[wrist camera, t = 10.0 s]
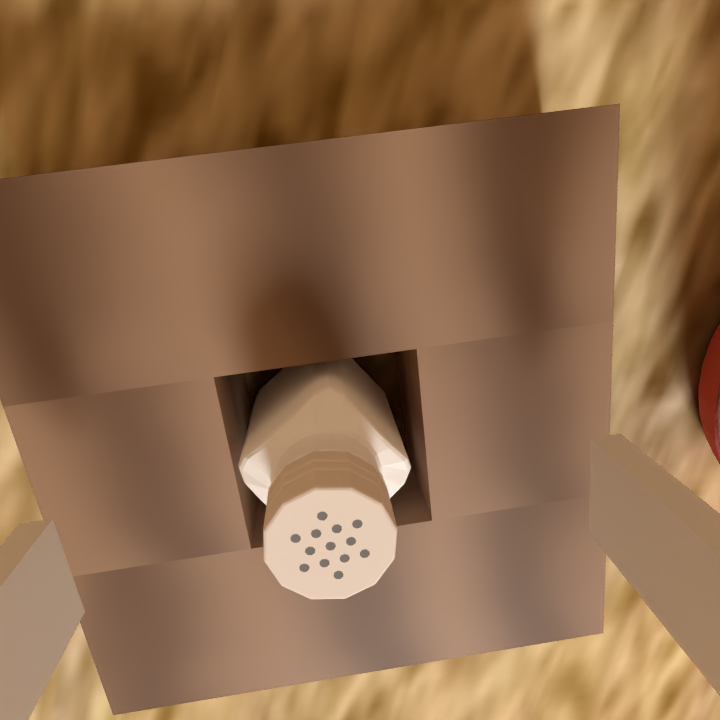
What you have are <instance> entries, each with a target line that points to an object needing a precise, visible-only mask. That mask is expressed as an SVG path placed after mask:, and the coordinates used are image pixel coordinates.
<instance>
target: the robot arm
mask: <svg viewBox="0 0 720 720" xmlns="http://www.w3.org/2000/svg"><path fill="white" fill-rule="evenodd" d="M589 533H590V534H591V535H592V537H593V538H594V539H595V540H596V542H597V543H598V544H599V545H600V547H601V548H602V549H603V550H604V552H605V553H606V554H607V555H608V557H609V558H610V559H611V560H612V562H613V563H614V564H615V565H616V567H617V568H618V569H619V570H620V572H621V573H622V574H623V575H624V577H625V578H626V579H627V580H628V582H629V583H630V584H631V585H632V587H633V588H634V589H635V590H636V592H637V593H638V594H639V595H640V597H641V598H642V599H643V600H644V602H645V603H646V604H647V605H648V607H649V608H650V609H651V610H652V612H653V613H654V614H655V615H656V617H657V618H658V619H659V620H660V622H661V623H662V624H663V625H664V627H665V628H666V629H667V630H668V632H669V633H670V634H671V635H672V637H673V638H674V639H675V640H676V642H677V643H678V644H679V645H680V647H681V648H682V649H683V650H684V652H685V653H686V654H687V655H688V657H689V658H690V659H691V660H692V662H693V663H694V664H695V665H696V667H697V668H698V669H699V670H700V672H701V673H702V674H703V675H704V677H705V678H706V679H707V680H708V682H709V683H710V684H711V685H712V687H713V688H714V689H715V690H716V691H717V693H718V694H719V695H720V514H719V513H718V512H717V511H716V510H714V509H713V508H712V507H711V506H709V505H708V504H707V503H706V502H704V501H703V500H702V499H701V498H699V497H698V496H697V495H696V494H694V493H693V492H692V491H691V490H690V489H688V488H687V487H686V486H685V485H683V484H682V483H681V482H680V481H678V480H677V479H676V478H675V477H673V476H672V475H671V474H670V473H668V472H667V471H666V470H665V469H663V468H662V467H661V466H660V465H658V464H657V463H656V462H655V461H653V460H652V459H651V458H650V457H648V456H647V455H646V454H645V453H644V452H642V451H641V450H640V449H639V448H637V447H636V446H635V445H634V444H632V443H631V442H630V441H629V440H627V439H626V438H625V437H624V436H622V435H621V434H616V435H609V436H603V437H596V438H590V487H589ZM84 613H85V610H84V607H83V604H82V602H81V599H80V596H79V593H78V590H77V587H76V584H75V582H74V579H73V576H72V573H71V570H70V567H69V565H68V562H67V559H66V556H65V553H64V550H63V547H62V545H61V542H60V539H59V536H58V533H57V530H56V527H55V525H54V522H53V519H50V520H44V521H37V522H30V523H24V524H19V525H18V527H17V528H16V529H15V530H14V531H13V532H12V534H11V535H10V536H9V537H8V538H7V539H6V541H5V542H4V543H3V544H2V545H1V546H0V720H28V719H29V717H30V715H31V713H32V711H33V709H34V708H35V706H36V704H37V702H38V700H39V698H40V696H41V694H42V692H43V690H44V689H45V687H46V685H47V683H48V681H49V679H50V677H51V675H52V673H53V672H54V670H55V668H56V666H57V664H58V662H59V660H60V658H61V656H62V654H63V653H64V651H65V649H66V647H67V645H68V643H69V641H70V639H71V637H72V635H73V634H74V632H75V630H76V628H77V626H78V624H79V622H80V620H81V618H82V617H83V615H84Z"/></svg>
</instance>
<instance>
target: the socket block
mask: <svg viewBox="0 0 720 720" xmlns="http://www.w3.org/2000/svg"><path fill="white" fill-rule="evenodd" d="M619 117H620V104H613V105H605V106H597V107H588V108H580V109H572V110H564V111H556V112H547V113H539V114H531V115H523V116H514V117H506V118H498V119H490V120H481V121H473V122H465V123H457V124H448V125H440V126H432V127H424V128H416V129H407V130H399V131H391V132H383V133H374V134H366V135H358V136H350V137H341V138H333V139H325V140H317V141H308V142H300V143H292V144H284V145H276V146H267V147H259V148H251V149H243V150H234V151H226V152H218V153H210V154H201V155H193V156H185V157H177V158H168V159H160V160H152V161H144V162H136V163H127V164H119V165H111V166H103V167H94V168H86V169H78V170H70V171H61V172H53V173H45V174H37V175H28V176H20V177H12V178H4V179H0V399H1V402H2V405H3V408H4V410H5V413H6V416H7V419H8V422H9V424H10V427H11V430H12V433H13V436H14V438H15V441H16V444H17V447H18V450H19V452H20V455H21V458H22V461H23V464H24V466H25V469H26V472H27V475H28V478H29V480H30V483H31V486H32V489H33V492H34V494H35V497H36V500H37V503H38V506H39V508H40V511H41V514H42V517H43V520H50V519H53V522H54V525H55V527H56V530H57V533H58V536H59V539H60V542H61V545H62V547H63V550H64V553H65V556H66V559H67V562H68V565H69V567H70V570H71V573H72V576H73V579H74V582H75V584H76V587H77V590H78V593H79V596H80V599H81V602H82V604H83V607H84V610H85V613H84V615H83V617H82V618H81V620H80V623H81V626H82V629H83V632H84V634H85V637H86V640H87V643H88V646H89V648H90V651H91V654H92V657H93V660H94V662H95V665H96V668H97V671H98V674H99V676H100V679H101V682H102V685H103V688H104V690H105V693H106V696H107V699H108V702H109V704H110V707H111V710H112V713H113V715H117V714H123V713H129V712H135V711H141V710H146V709H152V708H158V707H164V706H170V705H176V704H182V703H188V702H194V701H200V700H206V699H212V698H218V697H224V696H230V695H236V694H242V693H248V692H254V691H260V690H266V689H272V688H278V687H284V686H290V685H296V684H302V683H308V682H314V681H320V680H326V679H332V678H338V677H344V676H350V675H355V674H361V673H367V672H373V671H379V670H385V669H391V668H397V667H403V666H409V665H415V664H421V663H427V662H433V661H439V660H445V659H451V658H457V657H463V656H469V655H475V654H481V653H487V652H493V651H499V650H505V649H511V648H517V647H523V646H529V645H535V644H541V643H547V642H553V641H559V640H565V639H570V638H576V637H582V636H588V635H594V634H600V633H603V626H604V595H605V563H606V553H605V552H604V550H603V549H602V548H601V547H600V545H599V544H598V543H597V542H596V540H595V539H594V538H593V537H592V535H591V534H590V533H589V487H590V438H596V437H603V436H609V435H610V403H611V371H612V340H613V308H614V276H615V244H616V212H617V180H618V148H619ZM391 352H397V361H398V371H399V380H400V390H401V400H402V410H403V420H404V430H405V439H406V449H407V450H405V451H406V453H407V456H408V459H409V462H410V465H411V469H410V472H409V474H408V477H407V479H406V481H405V484H404V485H403V486H402V487H401V488H400V489H399V490H398V491H397V492H396V493H395V494H394V495H393V496H392V497H391V498H390V502H391V505H392V511H393V513H394V517H395V520H396V524H397V539H396V551H395V559H394V560H393V562H392V563H391V564H390V565H389V567H388V568H387V569H386V571H385V572H384V573H383V575H382V576H381V577H380V579H379V580H378V581H377V583H376V584H375V585H373V586H371V587H368V588H366V589H364V590H362V591H360V592H358V593H356V594H354V595H352V596H350V597H348V598H346V599H309V598H307V597H305V596H303V595H300V594H298V593H296V592H294V591H292V590H290V589H287V588H285V587H283V586H281V584H280V583H279V581H278V580H277V579H276V577H275V576H274V574H273V573H272V572H271V570H270V569H269V567H268V566H267V564H266V563H265V562H264V560H263V526H264V519H265V512H266V505H265V504H264V503H263V502H262V501H261V500H260V499H259V498H258V497H257V496H256V495H255V493H254V492H253V491H252V490H251V489H250V488H249V487H248V486H247V485H246V484H245V483H244V480H243V477H242V475H241V472H240V469H239V467H238V465H239V461H240V457H241V453H242V449H243V445H244V441H245V438H246V434H247V430H248V426H249V422H250V418H251V414H252V411H251V406H250V401H249V396H248V391H247V386H246V380H245V375H244V373H248V372H255V371H262V370H269V369H277V368H284V367H291V366H298V365H305V364H312V363H319V362H326V361H334V360H341V359H348V358H355V357H362V356H369V355H376V354H383V353H391Z"/></svg>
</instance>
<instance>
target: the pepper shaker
mask: <svg viewBox="0 0 720 720" xmlns="http://www.w3.org/2000/svg"><path fill="white" fill-rule="evenodd" d="M238 467H239V469H240V472H241V475H242V477H243V480H244V483H245V484H246V485H247V486H248V487H249V488H250V489H251V490H252V491H253V492H254V493H255V495H256V496H257V497H258V498H259V499H260V500H261V501H262V502H263V503H264V504H265V505H266V512H265V519H264V526H263V560H264V562H265V563H266V564H267V566H268V567H269V569H270V570H271V572H272V573H273V574H274V576H275V577H276V579H277V580H278V581H279V583H280V584H281V586H283V587H285V588H287V589H290V590H292V591H294V592H296V593H298V594H300V595H303V596H305V597H307V598H309V599H346V598H348V597H350V596H352V595H354V594H356V593H358V592H360V591H362V590H364V589H366V588H368V587H371V586H373V585H375V584H376V583H377V581H378V580H379V579H380V577H381V576H382V575H383V573H384V572H385V571H386V569H387V568H388V567H389V565H390V564H391V563H392V562H393V560H394V559H395V551H396V539H397V524H396V520H395V517H394V513H393V511H392V505H391V502H390V498H391V497H392V496H393V495H394V494H395V493H396V492H397V491H398V490H399V489H400V488H401V487H402V486H403V485H404V484H405V481H406V479H407V477H408V474H409V472H410V469H411V465H410V462H409V459H408V456H407V453H406V451H405V448H404V445H403V442H402V439H401V437H400V434H399V431H398V428H397V425H396V423H395V420H394V417H393V414H392V412H391V409H390V406H389V403H388V400H387V398H386V395H385V392H384V391H383V390H382V389H381V388H380V387H379V386H378V385H377V384H376V383H375V382H374V381H373V380H372V379H371V378H370V377H369V375H368V374H367V373H366V372H365V371H364V370H363V369H362V368H361V367H360V366H359V365H358V364H357V363H356V362H355V361H354V360H353V359H352V358H348V359H341V360H334V361H326V362H319V363H312V364H305V365H298V366H291V367H284V368H283V369H282V370H281V371H280V372H279V373H277V374H276V375H275V376H274V377H273V378H272V379H271V380H270V381H269V382H268V383H266V384H265V385H264V386H263V387H262V388H261V389H260V390H259V392H258V395H257V397H256V399H255V402H254V406H253V410H252V414H251V418H250V422H249V426H248V430H247V434H246V438H245V441H244V445H243V449H242V453H241V457H240V461H239V465H238Z"/></svg>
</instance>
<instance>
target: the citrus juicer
mask: <svg viewBox="0 0 720 720" xmlns="http://www.w3.org/2000/svg"><path fill="white" fill-rule="evenodd" d="M698 395H699V415H700V418H701V422H702V426H703V429H704V433H705V436H706V438H707V440H708V443H709V445H710V447H711V449H712V451H713V453H714V455H715V457H716V458H717V460H718V462H719V464H720V324H719V326H718V327H717V329H716V331H715V333H714V335H713V336H712V338H711V341H710V344H709V347H708V350H707V353H706V355H705V358H704V361H703V364H702V370H701V376H700V382H699V389H698Z"/></svg>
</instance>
